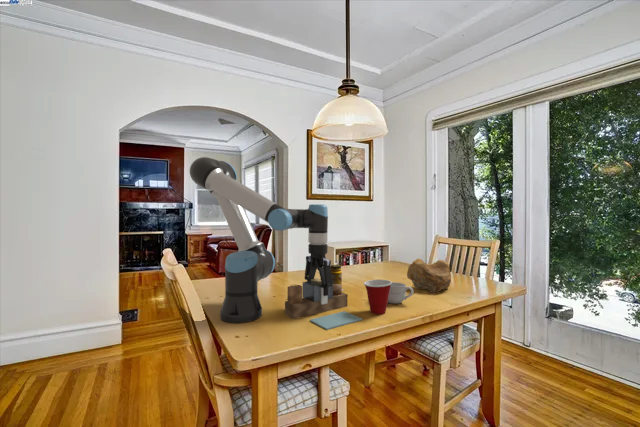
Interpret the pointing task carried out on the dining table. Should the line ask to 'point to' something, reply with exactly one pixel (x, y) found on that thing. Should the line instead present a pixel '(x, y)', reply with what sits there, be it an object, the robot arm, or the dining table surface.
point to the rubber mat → (335, 320)
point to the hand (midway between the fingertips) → (317, 300)
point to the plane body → (305, 307)
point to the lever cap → (315, 290)
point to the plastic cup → (378, 295)
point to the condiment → (336, 274)
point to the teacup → (398, 293)
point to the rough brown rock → (429, 275)
